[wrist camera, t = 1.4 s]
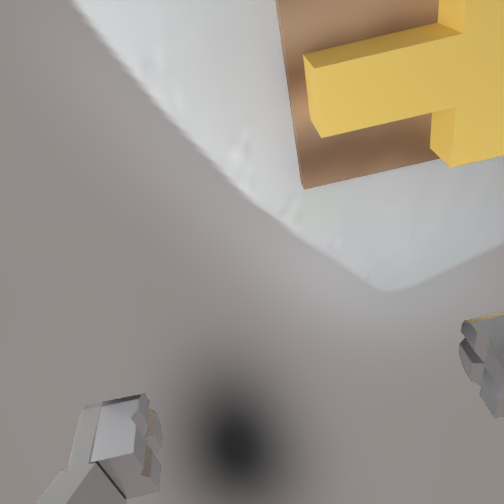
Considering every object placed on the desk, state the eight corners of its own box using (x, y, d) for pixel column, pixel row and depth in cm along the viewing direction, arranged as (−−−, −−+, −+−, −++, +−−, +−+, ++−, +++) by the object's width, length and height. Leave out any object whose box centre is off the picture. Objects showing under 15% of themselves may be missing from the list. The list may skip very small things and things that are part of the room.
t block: (293, -25, 24) (305, -17, 21) (518, -79, 23) (555, -78, 21) (316, 173, 31) (327, 195, 29) (487, 134, 31) (512, 153, 28)
